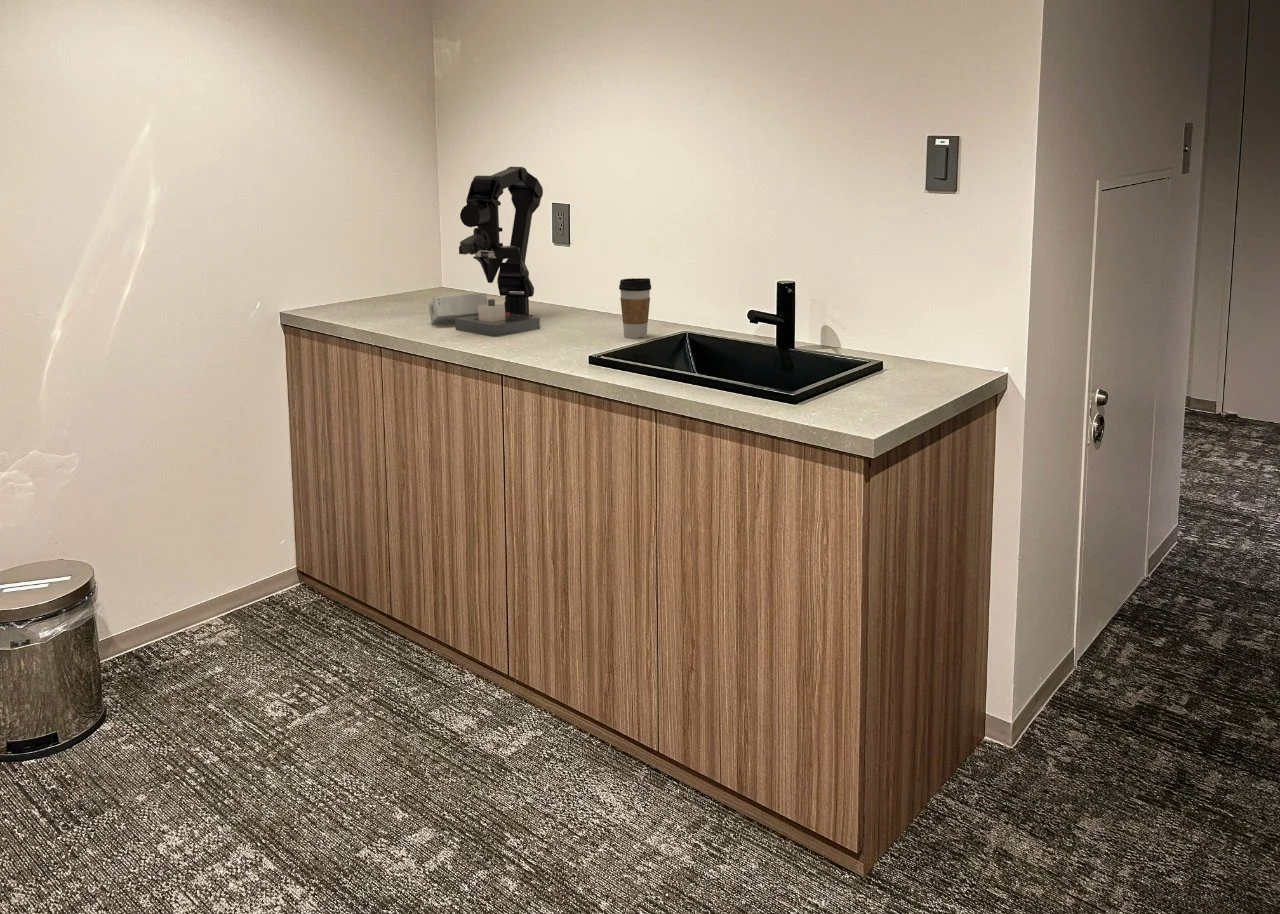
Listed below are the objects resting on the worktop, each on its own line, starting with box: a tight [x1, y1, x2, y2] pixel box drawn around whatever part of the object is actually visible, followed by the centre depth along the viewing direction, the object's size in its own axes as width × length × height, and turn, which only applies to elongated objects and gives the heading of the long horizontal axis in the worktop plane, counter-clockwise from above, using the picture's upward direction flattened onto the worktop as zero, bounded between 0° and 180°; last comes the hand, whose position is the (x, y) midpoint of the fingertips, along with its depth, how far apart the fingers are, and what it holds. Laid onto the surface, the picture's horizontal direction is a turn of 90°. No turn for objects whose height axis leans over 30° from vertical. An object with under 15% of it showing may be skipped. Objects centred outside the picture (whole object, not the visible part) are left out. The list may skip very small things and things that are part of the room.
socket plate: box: [454, 312, 541, 338], centre depth 313 cm, size 16×16×4 cm
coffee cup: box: [618, 277, 652, 339], centre depth 301 cm, size 8×8×15 cm
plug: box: [478, 298, 505, 322], centre depth 311 cm, size 5×5×8 cm
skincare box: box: [428, 293, 488, 325], centre depth 321 cm, size 8×6×15 cm
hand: (490, 282), depth 314 cm, fingers closed
